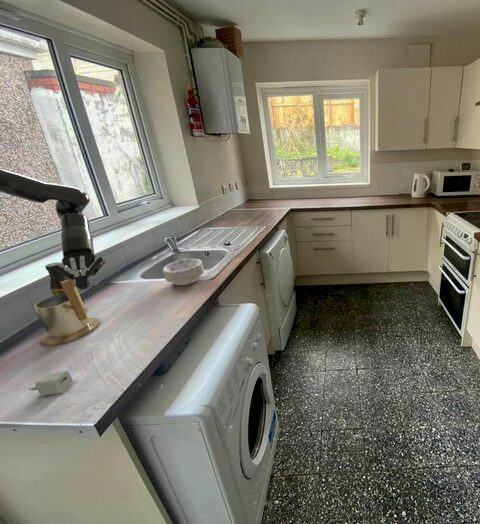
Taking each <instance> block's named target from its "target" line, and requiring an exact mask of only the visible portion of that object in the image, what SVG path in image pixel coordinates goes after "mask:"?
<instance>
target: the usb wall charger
mask: <svg viewBox="0 0 480 524" xmlns="http://www.w3.org/2000/svg"><path fill="white" fill-rule="evenodd" d="M73 383H74V380H73V378H72V376H71V374H70V372H69V371H68V370H64V371H57V372H49V373H45V374H44V375H43V376H42V377H41V378H40V379H38V380H37V381H36V382H35V385H34V386H33V387H28V390H29V391H30V392H31V391H37V392H38V394H39V395H40V396H41V397H43V396H50V395H58V394H63V393H65V392H66V391H67V390H68V389H69V388H70V386H72V384H73Z"/></svg>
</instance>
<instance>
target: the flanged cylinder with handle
mask: <svg viewBox="0 0 480 524" xmlns="http://www.w3.org/2000/svg"><path fill="white" fill-rule="evenodd" d="M60 283H61V285H62V287H63V289H64V291H65V294H60V295H56V296H53V295H52V296H50V297H46V298H44V299H41V300H39V301H38V302H37V303H35V304H34V305H33V309H34V310H35V312H36V314H37V316H38V318H39V319H40V322H41V324H42V325H43V327H44V329H45V331H46V333H48V334H49V336H50V338H52V339H60V338H65V337H69V336H72V335H75V334H77V333H79V332H81V331H83V330H85V329H86V328H87V327H88V326H89V325H90V321H89V319H88V318H89V316H88V315H87V313H86V309H85V310H84V308H85V307H84V308H83V306H82V304H81V302H80V300H79V298H78V295H77V294H76V293H75V290H74V288H73V286H72V284H71V282H70V280H65V281H62V282H60Z"/></svg>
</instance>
